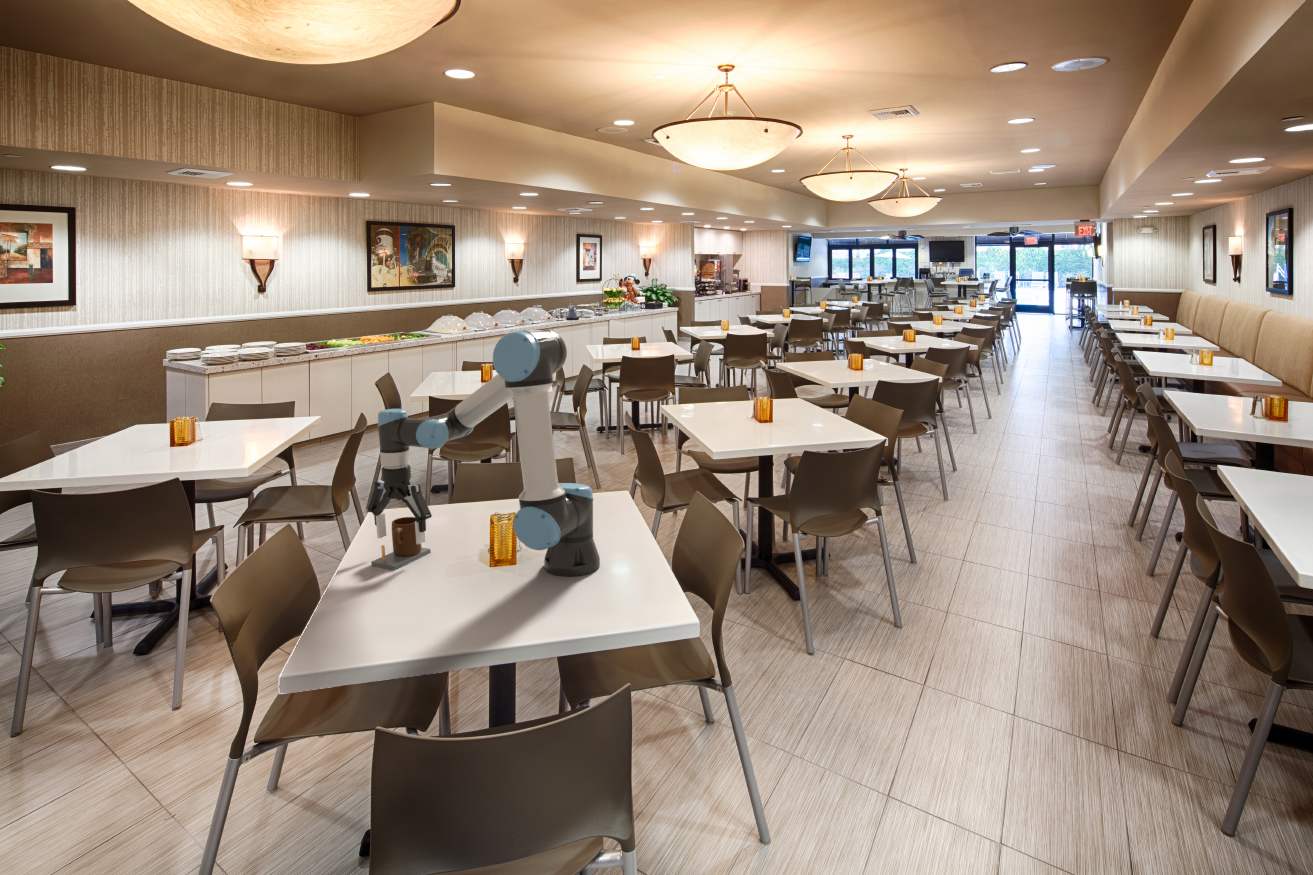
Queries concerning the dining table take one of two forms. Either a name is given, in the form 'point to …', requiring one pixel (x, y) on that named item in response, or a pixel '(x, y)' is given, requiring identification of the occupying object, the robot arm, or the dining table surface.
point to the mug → (404, 537)
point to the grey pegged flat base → (397, 559)
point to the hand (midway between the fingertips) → (401, 539)
